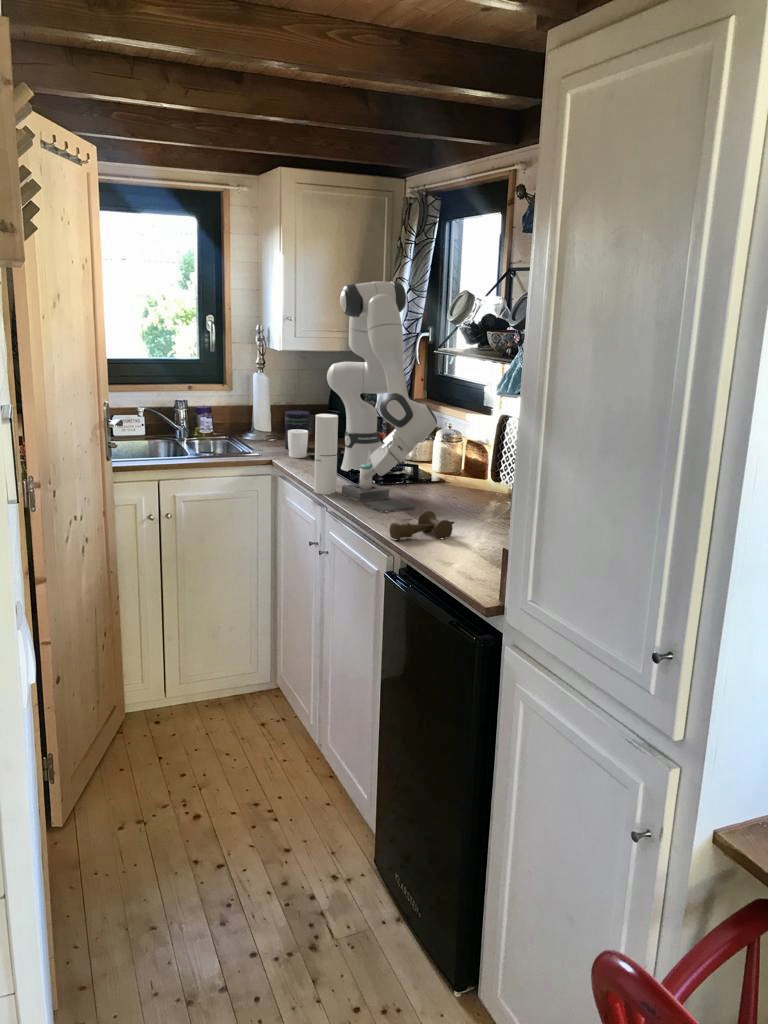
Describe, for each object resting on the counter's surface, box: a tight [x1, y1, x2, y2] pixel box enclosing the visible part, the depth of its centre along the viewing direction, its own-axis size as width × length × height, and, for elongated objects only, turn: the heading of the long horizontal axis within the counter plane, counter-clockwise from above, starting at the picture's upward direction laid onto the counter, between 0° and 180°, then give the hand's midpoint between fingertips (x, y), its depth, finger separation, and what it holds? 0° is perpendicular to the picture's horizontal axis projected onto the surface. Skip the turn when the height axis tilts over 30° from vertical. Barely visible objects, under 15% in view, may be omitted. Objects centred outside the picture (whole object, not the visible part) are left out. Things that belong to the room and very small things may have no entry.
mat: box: [364, 498, 416, 513], centre depth 259 cm, size 12×10×1 cm
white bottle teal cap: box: [359, 464, 373, 490], centre depth 268 cm, size 4×4×8 cm
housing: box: [341, 482, 390, 502], centre depth 270 cm, size 11×11×3 cm
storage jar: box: [284, 409, 310, 451], centre depth 340 cm, size 10×10×15 cm
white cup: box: [288, 429, 309, 459], centre depth 326 cm, size 8×8×10 cm
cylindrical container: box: [313, 413, 339, 495], centre depth 271 cm, size 7×7×25 cm
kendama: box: [389, 510, 455, 541], centre depth 229 cm, size 6×10×20 cm
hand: (364, 476), depth 268 cm, fingers closed on white bottle teal cap, 4 cm apart
